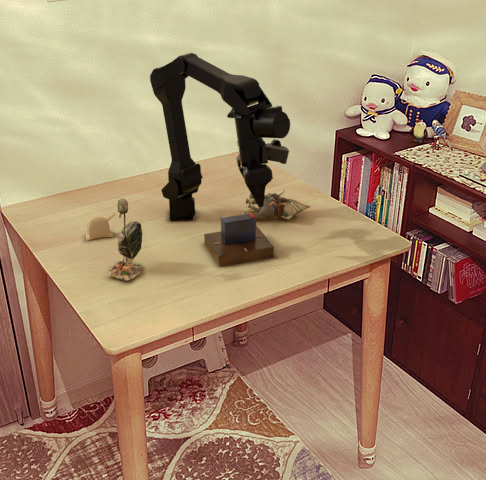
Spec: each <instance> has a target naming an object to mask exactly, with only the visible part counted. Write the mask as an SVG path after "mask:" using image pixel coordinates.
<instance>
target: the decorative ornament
mask: <svg viewBox="0 0 486 480" xmlns="http://www.w3.org/2000/svg"><path fill="white" fill-rule="evenodd" d="M115 216H116V213H112V214H110V215H109V216H108V217H107V218H106V217H104V216H102V215H97V216H92V217H91V218H89V219H88V221H87V223H86V228H85V230H86V231H85V232H86V234H85V239H86V241H91V240H94V239H98V238H105V237H106V238H107V237H108V238H113V237H114V234H113V233H112V231H111V228H110V223H109V221H111V219H113V218H114V217H115Z"/></svg>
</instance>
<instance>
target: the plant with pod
mask: <svg viewBox="0 0 486 480" xmlns="http://www.w3.org/2000/svg"><path fill="white" fill-rule="evenodd" d="M116 204H117V206H116V207H117V212H118V213H119V215H118V218H119V219H121V218H122V215H123V227H122V228H121V229H120V232H119V234H118V237H117V243H116V244H117V250H118V253H119V254H120V255H121V256H123V257H124V258H123V260H121V261H120V260H119V261H118V262H116V263H115V264H114V265H112V266H111V268H110V269H109V270H108V273H107V275H106V277H108V278H109V277H110V278H112V277H114V278H116V279H117V280H120V281H122V282H129V281H131V280H133V279H134V278H136V277H137V276H139V275H140V274H141V272H142V270H141V269H142V265H141V264H133V261H134V259H135V258H136V257H137V255H138V254H139V253H140V251H141V250H142V243H143V227H142V224H141V223H140V222H143V220H140V222H139V221H138V220H136V221H135V220H130V221H128V222H127V221H126V218H127V217H126V214H128V212H129V202H128V200H126V198H120V199H118V200H117V203H116ZM126 222H127V223H126Z"/></svg>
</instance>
